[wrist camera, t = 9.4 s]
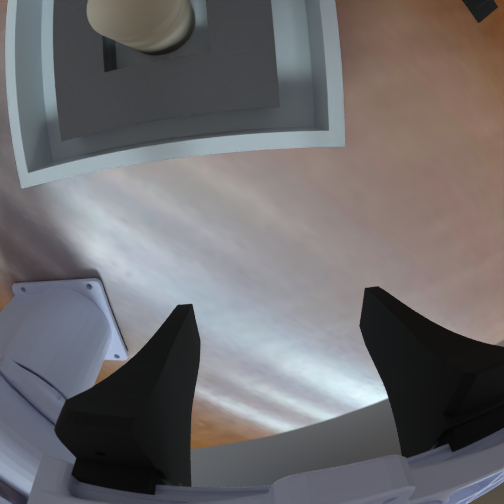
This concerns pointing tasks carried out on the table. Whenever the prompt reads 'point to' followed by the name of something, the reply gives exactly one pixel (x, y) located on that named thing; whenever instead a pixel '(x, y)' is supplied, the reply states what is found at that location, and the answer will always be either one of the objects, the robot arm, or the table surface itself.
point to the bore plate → (162, 71)
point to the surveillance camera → (480, 8)
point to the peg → (144, 23)
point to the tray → (178, 128)
